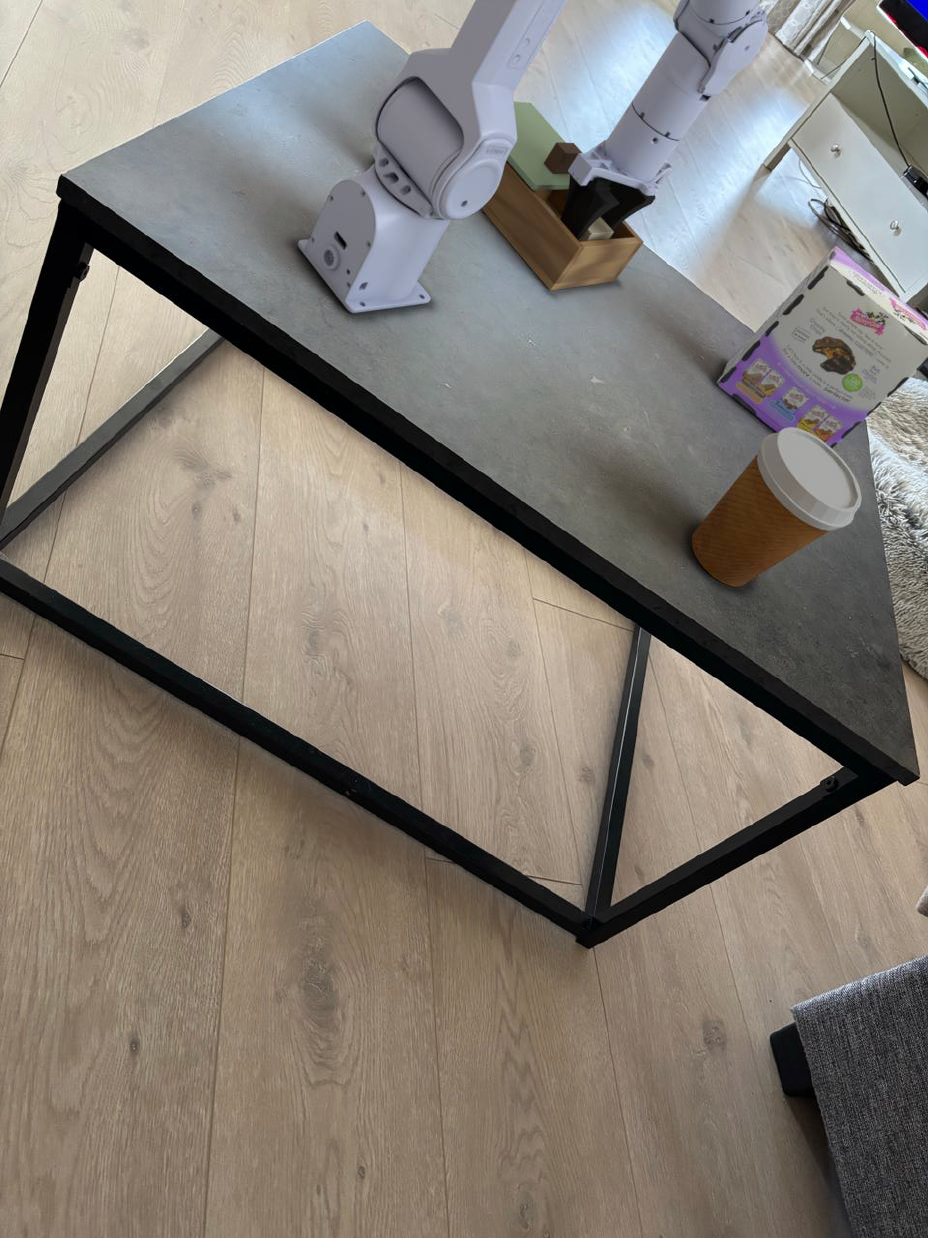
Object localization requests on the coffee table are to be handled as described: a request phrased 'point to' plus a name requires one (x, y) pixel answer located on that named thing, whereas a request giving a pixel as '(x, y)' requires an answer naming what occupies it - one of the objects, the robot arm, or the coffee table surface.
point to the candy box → (828, 353)
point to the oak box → (555, 236)
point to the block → (597, 231)
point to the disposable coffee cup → (776, 507)
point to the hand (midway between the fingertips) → (575, 238)
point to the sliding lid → (540, 151)
